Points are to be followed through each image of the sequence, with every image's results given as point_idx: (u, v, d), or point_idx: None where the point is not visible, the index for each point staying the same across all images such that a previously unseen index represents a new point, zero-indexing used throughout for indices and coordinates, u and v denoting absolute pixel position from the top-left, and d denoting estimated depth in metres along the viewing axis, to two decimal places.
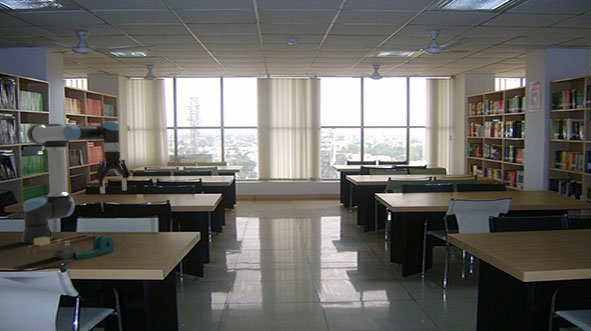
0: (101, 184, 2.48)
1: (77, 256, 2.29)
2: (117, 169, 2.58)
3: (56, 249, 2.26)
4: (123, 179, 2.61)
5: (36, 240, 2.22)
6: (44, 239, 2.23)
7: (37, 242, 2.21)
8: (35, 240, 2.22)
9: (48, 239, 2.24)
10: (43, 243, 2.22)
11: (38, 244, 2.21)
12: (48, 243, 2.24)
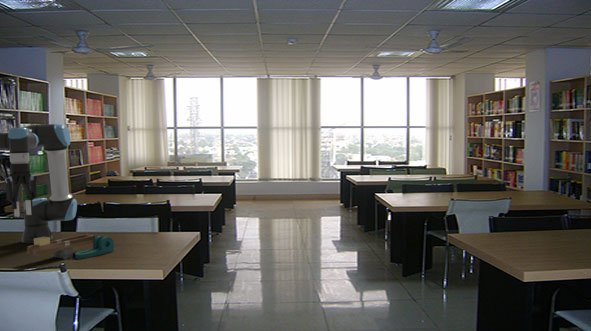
0: (15, 206, 2.13)
1: (77, 256, 2.29)
2: (24, 186, 2.17)
3: (56, 249, 2.26)
4: (27, 201, 2.18)
5: (36, 240, 2.22)
6: (44, 239, 2.23)
7: (37, 242, 2.21)
8: (35, 240, 2.22)
9: (48, 239, 2.24)
10: (43, 243, 2.22)
11: (38, 244, 2.21)
12: (48, 243, 2.24)
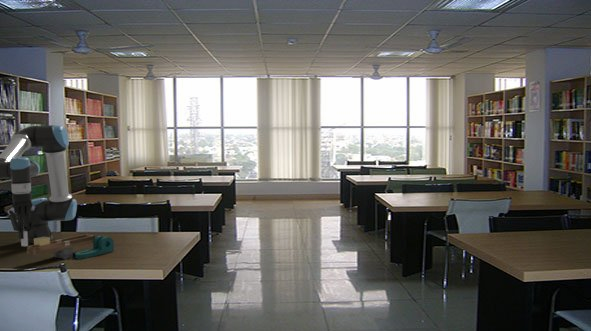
0: (21, 236, 2.15)
1: (77, 256, 2.29)
2: (23, 216, 2.17)
3: (56, 249, 2.26)
4: None
5: (36, 240, 2.22)
6: (44, 239, 2.23)
7: (37, 242, 2.21)
8: (35, 240, 2.22)
9: (48, 239, 2.24)
10: (43, 243, 2.22)
11: (38, 244, 2.21)
12: (48, 243, 2.24)
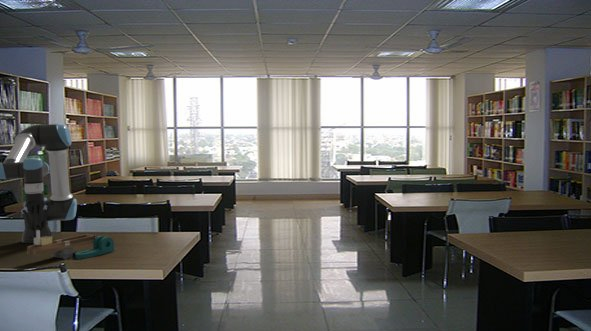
0: (34, 235, 2.20)
1: (77, 256, 2.29)
2: (36, 215, 2.22)
3: (56, 249, 2.26)
4: None
5: None
6: (46, 239, 2.23)
7: None
8: None
9: (50, 239, 2.25)
10: (45, 243, 2.23)
11: (40, 244, 2.22)
12: (50, 243, 2.25)
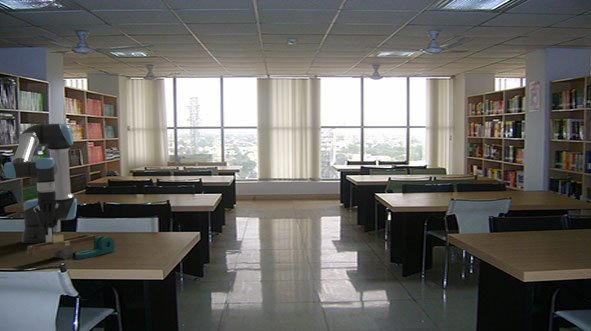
0: (46, 232, 2.25)
1: (77, 256, 2.29)
2: (48, 213, 2.27)
3: (56, 249, 2.26)
4: None
5: None
6: (58, 236, 2.28)
7: None
8: None
9: (61, 236, 2.30)
10: (57, 240, 2.28)
11: (52, 241, 2.27)
12: (61, 240, 2.30)
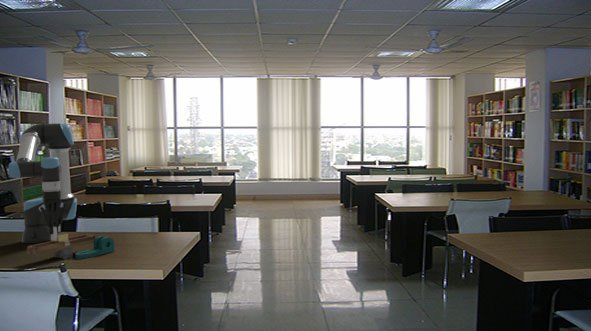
0: (51, 231, 2.27)
1: (77, 256, 2.29)
2: (53, 212, 2.29)
3: (56, 249, 2.26)
4: None
5: None
6: (63, 235, 2.30)
7: None
8: None
9: (66, 235, 2.32)
10: (62, 239, 2.30)
11: (57, 240, 2.29)
12: (66, 239, 2.32)
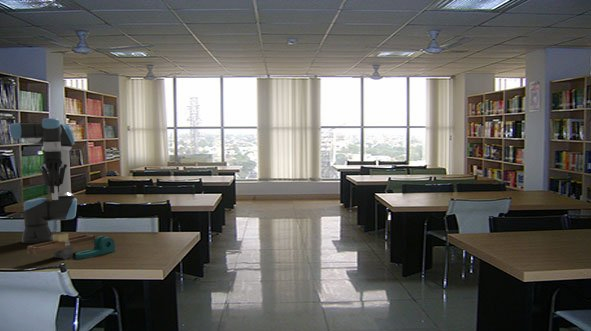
0: (52, 190, 2.34)
1: (77, 256, 2.29)
2: (54, 172, 2.36)
3: (56, 249, 2.26)
4: None
5: (55, 236, 2.30)
6: (63, 235, 2.30)
7: (56, 238, 2.29)
8: (54, 236, 2.30)
9: (66, 235, 2.32)
10: (62, 239, 2.30)
11: (57, 240, 2.29)
12: (66, 239, 2.32)
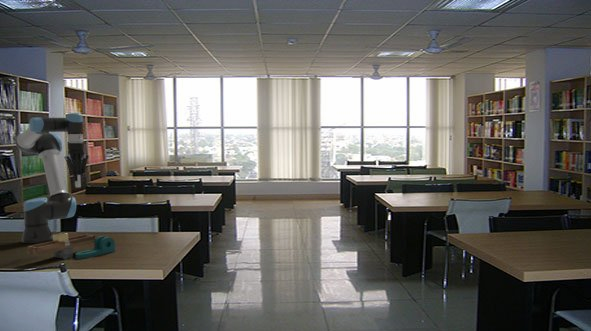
0: (76, 178, 2.57)
1: (77, 256, 2.29)
2: (77, 162, 2.59)
3: (56, 249, 2.26)
4: None
5: (55, 236, 2.30)
6: (63, 235, 2.30)
7: (56, 238, 2.29)
8: (54, 236, 2.30)
9: (66, 235, 2.32)
10: (62, 239, 2.30)
11: (57, 240, 2.29)
12: (66, 239, 2.32)
